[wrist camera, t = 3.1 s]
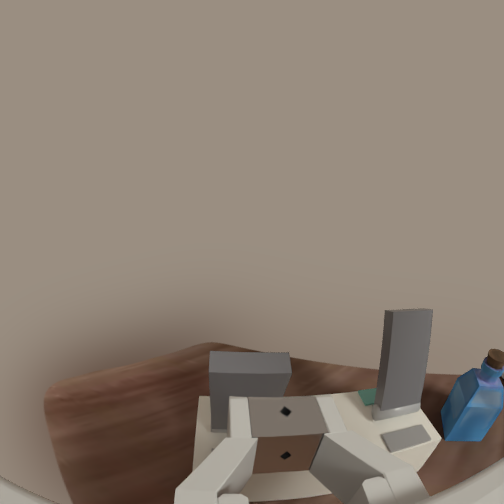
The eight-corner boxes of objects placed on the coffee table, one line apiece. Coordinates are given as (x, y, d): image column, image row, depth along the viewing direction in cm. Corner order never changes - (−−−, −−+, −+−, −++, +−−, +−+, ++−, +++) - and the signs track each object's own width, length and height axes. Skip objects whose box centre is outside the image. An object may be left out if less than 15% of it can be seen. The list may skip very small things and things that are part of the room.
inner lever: (409, 408, 26) (423, 308, 27) (418, 414, 24) (434, 309, 25) (370, 416, 26) (383, 310, 26) (378, 423, 24) (393, 312, 25)
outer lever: (267, 418, 25) (290, 351, 18) (268, 435, 24) (293, 374, 17) (211, 418, 25) (208, 349, 18) (211, 434, 23) (207, 373, 17)
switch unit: (387, 417, 32) (403, 382, 30) (418, 470, 22) (442, 436, 21) (201, 430, 30) (199, 393, 28) (196, 500, 20) (192, 470, 19)
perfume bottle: (440, 411, 32) (473, 341, 28) (473, 413, 29) (508, 345, 26) (444, 440, 26) (486, 367, 23) (480, 441, 24) (523, 369, 21)
